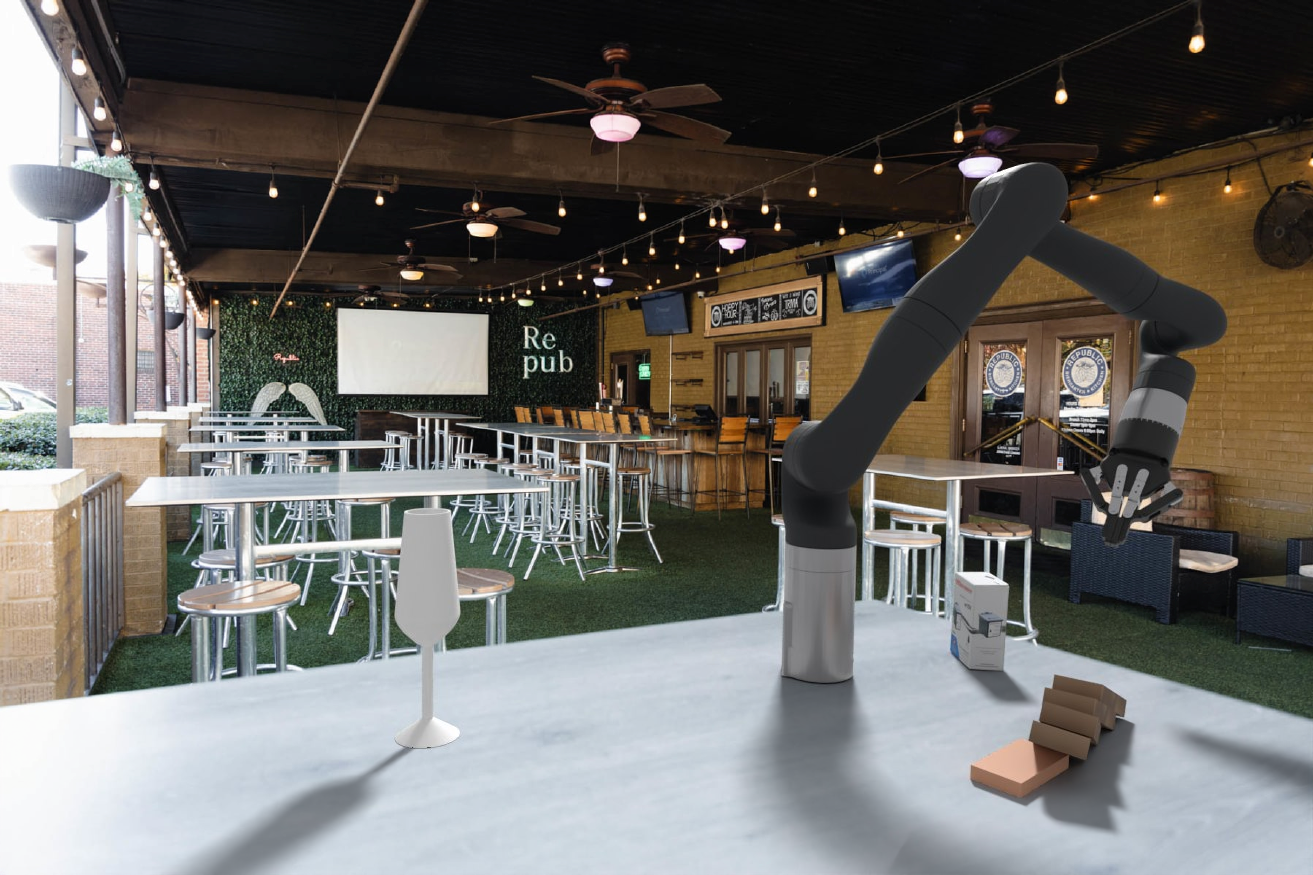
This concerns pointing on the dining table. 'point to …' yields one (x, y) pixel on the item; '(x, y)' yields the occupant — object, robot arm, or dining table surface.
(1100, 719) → the tile
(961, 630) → the ink box
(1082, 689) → the tile
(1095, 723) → the tile
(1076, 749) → the tile
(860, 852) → the dining table surface
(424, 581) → the champagne flute
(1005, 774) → the tile
